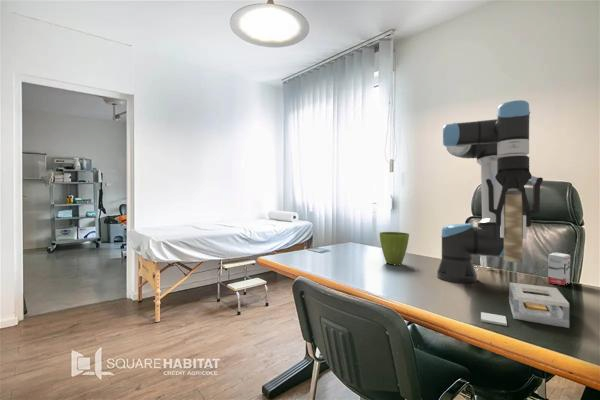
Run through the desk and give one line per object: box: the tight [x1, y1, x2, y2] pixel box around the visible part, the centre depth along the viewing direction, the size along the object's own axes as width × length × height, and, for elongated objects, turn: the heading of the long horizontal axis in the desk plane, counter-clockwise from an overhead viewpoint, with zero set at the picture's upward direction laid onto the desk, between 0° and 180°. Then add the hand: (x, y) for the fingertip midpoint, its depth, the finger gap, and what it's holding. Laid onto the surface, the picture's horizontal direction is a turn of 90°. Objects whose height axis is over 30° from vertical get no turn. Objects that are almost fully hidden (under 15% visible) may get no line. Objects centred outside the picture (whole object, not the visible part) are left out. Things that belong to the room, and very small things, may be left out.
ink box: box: [547, 252, 571, 286], centre depth 121 cm, size 8×5×12 cm, turn 123°
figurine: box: [479, 256, 492, 268], centre depth 146 cm, size 9×9×12 cm
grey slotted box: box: [508, 281, 570, 329], centre depth 89 cm, size 12×16×6 cm
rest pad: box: [480, 311, 508, 327], centre depth 85 cm, size 6×6×1 cm
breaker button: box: [525, 302, 547, 311], centre depth 89 cm, size 5×5×2 cm
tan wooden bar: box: [503, 190, 524, 263], centre depth 86 cm, size 4×4×20 cm
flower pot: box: [379, 231, 410, 266], centre depth 157 cm, size 15×15×16 cm
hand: (512, 237), depth 86 cm, fingers closed on tan wooden bar, 4 cm apart
